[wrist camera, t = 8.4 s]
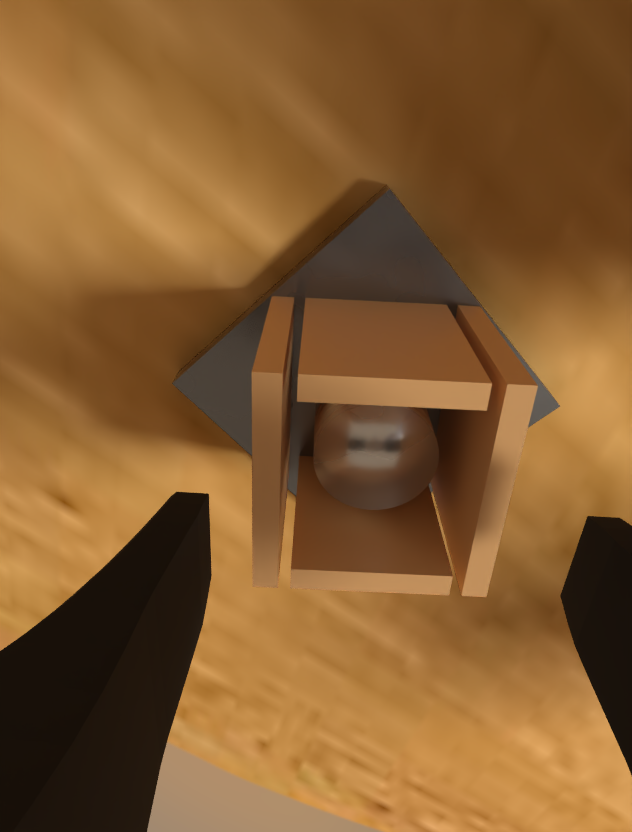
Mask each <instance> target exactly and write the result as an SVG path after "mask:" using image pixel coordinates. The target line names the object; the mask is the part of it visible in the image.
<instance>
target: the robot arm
mask: <svg viewBox="0 0 632 832" xmlns="http://www.w3.org/2000/svg"><path fill="white" fill-rule="evenodd" d="M210 581H211V549H210V519H209V494H204V493H187V492H176V493H175V494H173V495H172V496H171V497H170V498H169V499H168V500H167V501H166V503H165V504H164V505H163V506H162V507H161V508H160V509H159V510H158V512H157V513H156V514H155V515H154V516H153V517H152V518H151V519H150V520H149V521H148V523H147V524H146V525H145V526H144V527H143V528H142V529H141V530H140V531H139V532H138V533H137V534H136V535H135V536H134V537H133V539H132V540H131V541H130V542H129V543H128V544H127V545H126V546H125V547H124V548H123V549H122V550H121V551H120V552H119V553H118V554H117V555H116V556H115V557H114V558H113V559H112V560H111V561H110V562H109V563H108V564H107V565H105V566H104V567H103V568H102V569H101V570H100V571H99V572H98V573H97V574H96V575H95V576H94V577H92V578H91V579H90V580H89V581H88V582H87V583H86V584H85V585H84V586H82V587H81V588H80V589H79V590H78V591H77V592H76V593H75V594H74V595H73V596H71V597H70V598H69V599H68V600H67V601H65V602H64V603H63V604H62V605H61V606H59V607H58V608H57V609H56V610H55V611H53V612H52V613H51V614H50V615H48V616H47V617H46V618H45V619H43V620H42V621H41V622H40V623H38V624H37V625H36V626H34V627H33V628H32V629H30V630H29V631H28V632H26V633H25V634H24V635H22V636H21V637H20V638H18V639H17V640H16V641H14V642H13V643H11V644H10V645H8V646H7V647H6V648H4V649H3V650H1V651H0V832H147V828H148V823H149V818H150V814H151V809H152V804H153V799H154V795H155V790H156V785H157V780H158V776H159V770H160V766H161V762H162V758H163V754H164V750H165V747H166V743H167V739H168V736H169V733H170V729H171V726H172V723H173V720H174V716H175V713H176V710H177V707H178V703H179V700H180V697H181V694H182V690H183V687H184V684H185V681H186V677H187V674H188V671H189V668H190V664H191V661H192V658H193V655H194V651H195V648H196V645H197V641H198V638H199V635H200V631H201V628H202V625H203V619H204V614H205V609H206V603H207V598H208V592H209V587H210ZM561 600H562V603H563V607H564V611H565V614H566V618H567V622H568V625H569V628H570V631H571V635H572V638H573V641H574V644H575V647H576V649H577V652H578V654H579V657H580V659H581V661H582V664H583V666H584V668H585V670H586V673H587V675H588V677H589V680H590V682H591V684H592V686H593V689H594V691H595V693H596V695H597V698H598V700H599V702H600V704H601V706H602V709H603V711H604V713H605V715H606V718H607V720H608V722H609V724H610V727H611V729H612V731H613V733H614V735H615V738H616V740H617V742H618V744H619V747H620V749H621V751H622V753H623V756H624V758H625V760H626V762H627V765H628V767H629V770H630V772H631V775H632V526H631V525H630V524H628V523H627V522H625V521H624V520H622V519H620V518H611V517H594V516H588V517H587V520H586V523H585V525H584V528H583V531H582V534H581V537H580V540H579V543H578V546H577V549H576V552H575V555H574V558H573V561H572V564H571V566H570V569H569V572H568V575H567V578H566V581H565V584H564V587H563V590H562V593H561Z"/></svg>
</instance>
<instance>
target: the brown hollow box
mask: <svg viewBox="0 0 632 832" xmlns="http://www.w3.org/2000/svg"><path fill="white" fill-rule="evenodd" d="M293 324H294V297H281V296H272V298H271V301H270V305H269V309H268V313H267V316H266V320H265V324H264V328H263V331H262V335H261V339H260V343H259V346H258V350H257V354H256V358H255V361H254V365H253V369H252V543H253V587H273V588H278V581H279V570H280V560H281V550H282V540H283V529H284V519H285V509H286V498H287V488H288V478H289V458H290V424H291V391H292V357H293ZM537 388H538V385H537V384H536V382H535V381H534V379H533V378H532V377H531V375H530V374H529V373H528V371H527V370H526V369H525V367H524V366H523V364H522V363H521V362H520V360H519V359H518V358H517V356H516V355H515V353H514V352H513V351H512V349H511V348H510V347H509V345H508V344H507V343H506V341H505V340H504V338H503V337H502V336H501V334H500V333H499V332H498V330H497V329H496V328H495V326H494V325H493V323H492V322H491V321H490V319H489V318H488V317H487V315H486V314H485V312H484V311H483V310H482V308H481V307H480V306H463V305H458V307H457V313H456V319H455V318H454V317H453V315H452V313H451V311H450V310H449V308H448V306H447V305H443V304H423V303H403V302H382V301H362V300H342V299H322V298H305V308H304V318H303V328H302V338H301V348H300V358H299V368H298V385H297V402H315V403H336V404H357V405H378V406H399V407H420V408H441V411H440V417H439V423H438V429H437V435H436V439H437V443H438V448H439V462H438V466H437V470H436V472H435V475H434V477H433V479H432V480H431V486H432V489H433V493H434V497H435V500H436V504H437V508H438V511H439V515H440V519H441V523H442V526H443V530H444V534H445V537H446V541H447V545H448V548H449V552H450V556H451V559H452V563H453V567H454V570H455V574H456V578H457V581H458V585H459V589H460V593H461V596H474V597H487V592H488V588H489V584H490V580H491V576H492V572H493V568H494V564H495V560H496V556H497V552H498V548H499V543H500V539H501V535H502V531H503V527H504V523H505V519H506V515H507V511H508V507H509V503H510V498H511V494H512V490H513V486H514V482H515V478H516V474H517V470H518V466H519V462H520V458H521V454H522V449H523V445H524V441H525V437H526V433H527V429H528V425H529V421H530V417H531V413H532V409H533V404H534V400H535V396H536V392H537ZM452 578H453V575H452V572H451V568H450V564H449V560H448V556H447V553H446V549H445V545H444V541H443V538H442V534H441V530H440V526H439V522H438V519H437V515H436V511H435V507H434V503H433V500H432V496H431V492H430V488H429V485H428V486H427V487H426V488H425V489H424V490H423V491H422V492H421V493H420V494H419V495H417V496H416V497H415V498H413V499H412V500H410V501H408V502H406V503H404V504H402V505H399V506H396V507H393V508H388V509H382V510H366V509H359V508H355V507H352V506H349V505H346V504H344V503H342V502H340V501H339V500H337V499H335V498H334V497H333V496H332V495H330V494H329V493H328V492H327V491H326V490H325V489H324V487H323V486H322V485H321V483H320V481H319V479H318V477H317V475H316V472H315V469H314V461H313V457H312V456H299V467H298V481H297V494H296V508H295V522H294V536H293V549H292V563H291V585H290V588H295V589H318V590H340V591H362V592H385V593H407V594H429V595H449V593H450V588H451V583H452Z"/></svg>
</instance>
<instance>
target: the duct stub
mask: <svg viewBox="0 0 632 832" xmlns="http://www.w3.org/2000/svg"><path fill="white" fill-rule="evenodd" d="M272 296H281V297H294V324H293V357H292V391H291V424H290V458H289V478H288V488H287V489H288V490H290V491H291V492H292V493H293V494H294V495H295V496H296V494H297V481H298V467H299V456H312V457H313V461H314V469H315V472H316V475H317V477H318V479H319V481H320V483H321V485H322V486H323V487H324V489H325V490H326V491H327V492H328V493H329V494H330V495H332V496H333V497H334V498H335V499H337V500H339V501H340V502H342V503H344V504H346V505H349V506H352V507H355V508H359V509H366V510H382V509H388V508H393V507H396V506H399V505H402V504H404V503H406V502H408V501H410V500H412V499H413V498H415V497H416V496H417V495H419V494H420V493H421V492H422V491H423V490H424V489H425V488H426V487H427V486H428V485H429V488H430V492H432V491H433V489H432V486H431V480H432V479H433V477H434V475H435V472H436V470H437V466H438V462H439V448H438V443H437V439H436V435H437V429H438V423H439V417H440V411H441V408H420V407H399V406H378V405H357V404H336V403H315V402H297V385H298V368H299V358H300V348H301V338H302V328H303V318H304V308H305V298H322V299H342V300H362V301H382V302H403V303H423V304H443V305H447V306H448V308H449V310H450V311H451V313H452V315H453V317H454V318H455V319H456V313H457V307H458V305H463V306H480V307H481V308H482V310H483V311H484V312H485V314H486V315H487V317H488V318H489V319H490V321H491V322H492V323H493V325H494V326H495V328H496V329H497V330H498V332H499V333H500V334H501V336H502V337H503V338H504V340H505V341H506V343H507V344H508V345H509V347H510V348H511V349H512V351H513V352H514V353H515V355H516V356H517V358H518V359H519V360H520V362H521V363H522V364H523V366H524V367H525V369H526V370H527V371H528V373H529V374H530V375H531V377H532V378H533V379H534V381H535V382H536V384H537V385H538V388H537V392H536V396H535V400H534V404H533V409H532V413H531V417H530V421H529V425H528V427H530V426H531V425H533V424H534V423H536V422H537V421H539V420H540V419H542V418H543V417H545V416H546V415H548V414H549V413H551V412H552V411H554V410H555V409H557V408H558V407H560V405H559V404H558V403H557V401H556V400H555V399H554V397H553V396H552V395H551V393H550V392H549V391H548V390H547V388H546V387H545V386H544V385H543V383H542V382H541V381H540V379H539V378H538V377H537V376H536V374H535V373H534V372H533V370H532V369H531V368H530V367H529V365H528V364H527V363H526V362H525V360H524V359H523V358H522V356H521V355H520V354H519V353H518V351H517V350H516V349H515V348H514V346H513V345H512V344H511V342H510V341H509V340H508V339H507V337H506V336H505V335H504V334H503V332H502V331H501V330H500V328H499V327H498V326H497V325H496V323H495V322H494V321H493V320H492V318H491V317H490V316H489V314H488V313H487V312H486V311H485V309H484V308H483V307H482V305H481V304H480V303H479V302H478V300H477V299H476V298H475V297H474V295H473V294H472V293H471V291H470V290H469V289H468V288H467V286H466V285H465V284H464V283H463V281H462V280H461V279H460V277H459V276H458V275H457V274H456V272H455V271H454V270H453V269H452V267H451V266H450V265H449V263H448V262H447V261H446V260H445V258H444V257H443V256H442V255H441V253H440V252H439V251H438V249H437V248H436V247H435V246H434V244H433V243H432V242H431V240H430V239H429V238H428V237H427V235H426V234H425V233H424V232H423V230H422V229H421V228H420V226H419V225H418V224H417V223H416V221H415V220H414V219H413V218H412V216H411V215H410V214H409V212H408V211H407V210H406V209H405V207H404V206H403V205H402V204H401V202H400V201H399V200H398V198H397V197H396V196H395V195H394V193H393V192H392V191H391V190H390V188H389V187H388V186H387V185H386V186H385V187H384V188H382V189H381V190H380V191H379V192H378V193H377V194H376V195H375V196H374V197H372V198H371V199H370V200H369V201H368V202H367V203H366V204H365V205H364V206H362V207H361V208H360V209H359V210H358V211H357V212H356V213H355V214H354V215H352V216H351V217H350V218H349V219H348V220H347V221H346V222H345V223H344V224H342V225H341V226H340V227H339V228H338V229H337V230H336V231H335V232H334V233H332V234H331V235H330V236H329V237H328V238H327V239H326V240H325V241H324V242H322V243H321V244H320V245H319V246H318V247H317V248H316V249H315V250H314V251H312V252H311V253H310V254H309V255H308V256H307V257H306V258H305V259H304V260H302V261H301V262H300V263H299V264H298V265H297V266H296V267H295V268H294V269H292V270H291V271H290V272H289V273H288V274H287V275H286V276H285V277H284V278H282V279H281V280H280V281H279V282H278V283H277V284H276V285H275V286H274V287H272V288H271V289H270V290H269V291H268V292H267V293H266V294H265V295H264V296H262V297H261V298H260V299H259V300H258V301H257V302H256V303H255V304H254V305H252V306H251V307H250V308H249V309H248V310H247V311H246V312H245V313H244V314H242V315H241V316H240V317H239V318H238V319H237V320H236V321H235V322H234V323H232V324H231V325H230V326H229V327H228V328H227V329H226V330H225V331H224V332H222V333H221V334H220V335H219V336H218V337H217V338H216V339H215V340H214V341H212V342H211V343H210V344H209V345H208V346H207V347H206V348H205V349H204V350H202V351H201V352H200V353H199V354H198V355H197V356H196V357H195V358H193V359H192V360H191V361H190V362H189V363H188V364H187V365H186V366H185V367H183V368H182V369H181V370H180V371H179V372H178V374H177V375H176V377H175V379H174V381H173V383H172V384H173V385H174V386H175V387H177V388H178V389H179V390H180V391H181V392H182V393H183V394H184V395H185V396H186V397H187V398H189V399H190V400H191V401H192V402H193V403H194V404H195V405H196V406H197V407H198V408H200V409H201V410H202V411H203V412H204V413H205V414H206V415H207V416H208V417H209V418H211V419H212V420H213V421H214V422H215V423H216V424H217V425H218V426H219V427H220V428H221V429H223V430H224V431H225V432H226V433H227V434H228V435H229V436H230V437H231V438H232V439H234V440H235V441H236V442H237V443H238V444H239V445H240V446H241V447H242V448H243V449H245V450H246V451H247V452H248V453H249V454H250V455H251V456H252V369H253V365H254V361H255V358H256V354H257V350H258V346H259V343H260V339H261V335H262V331H263V328H264V324H265V320H266V316H267V313H268V309H269V305H270V301H271V298H272Z"/></svg>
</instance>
